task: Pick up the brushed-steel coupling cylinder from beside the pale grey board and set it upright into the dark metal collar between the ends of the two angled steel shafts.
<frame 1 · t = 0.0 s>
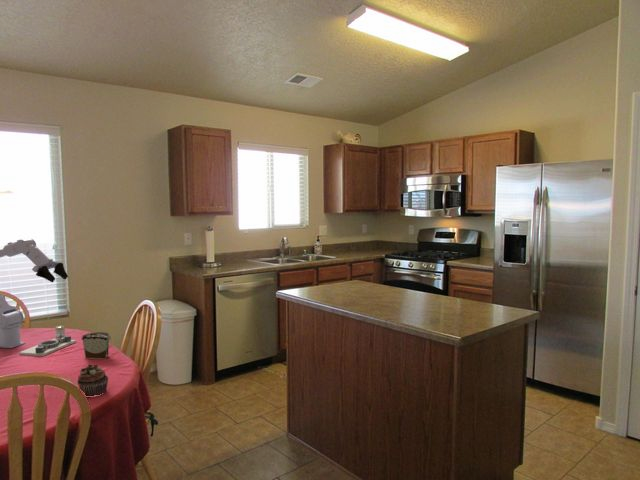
hand: (60, 279, 201), 32 cm above the table, tool tilted 50°, fingers open, 7 cm apart
cupcake: (93, 393, 157), on the table
food container: (99, 356, 195), on the table
shaft 1: (42, 353, 198), resting on shaft board
shaft 2: (63, 343, 211), resting on shaft board
shaft board: (48, 348, 205), on the table
coupler: (60, 338, 219), on the table
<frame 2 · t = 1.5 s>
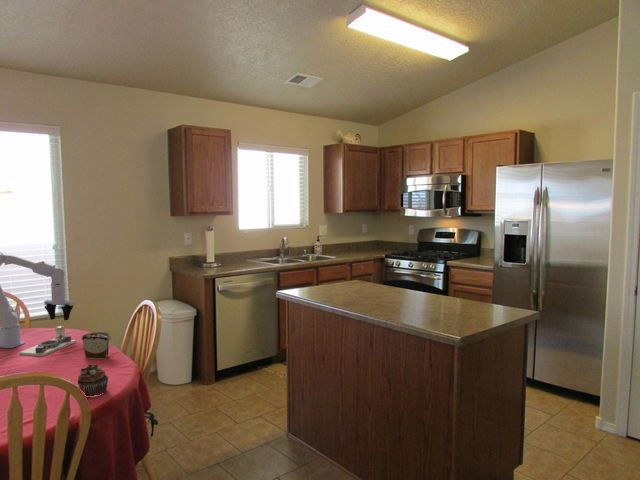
hand: (59, 319, 218), 10 cm above the table, tool pointing down, fingers open, 7 cm apart
nothing on the table moved.
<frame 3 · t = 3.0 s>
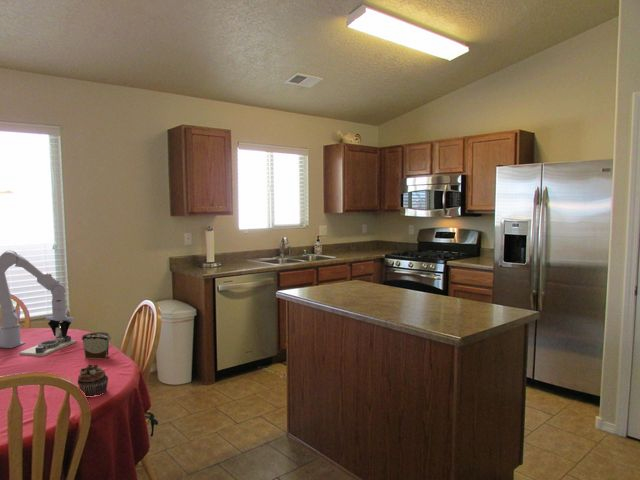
hand: (60, 335, 219), 2 cm above the table, tool pointing down, fingers closed on coupler, 4 cm apart
coupler: (60, 338, 219), on the table, touching gripper
everything else where it was.
when the fingers open (5 cm above the table, at t = 6.7 s): coupler drops 2 cm, resting on shaft board.
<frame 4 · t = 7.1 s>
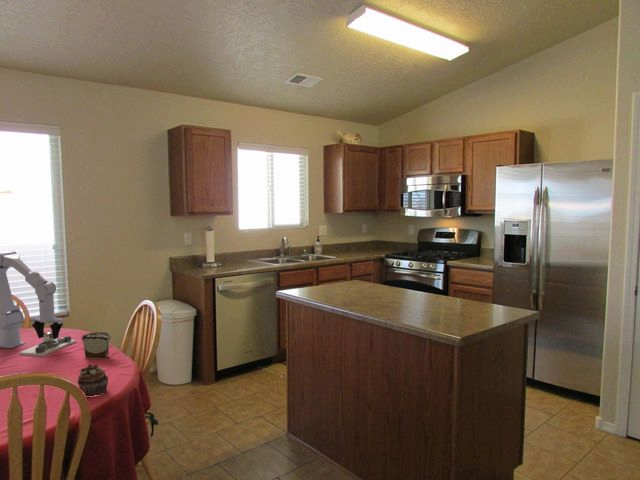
hand: (48, 338, 205), 5 cm above the table, tool pointing down, fingers open, 7 cm apart
coupler: (49, 345, 205), point 1 cm above the table, touching shaft board
everything else where it was.
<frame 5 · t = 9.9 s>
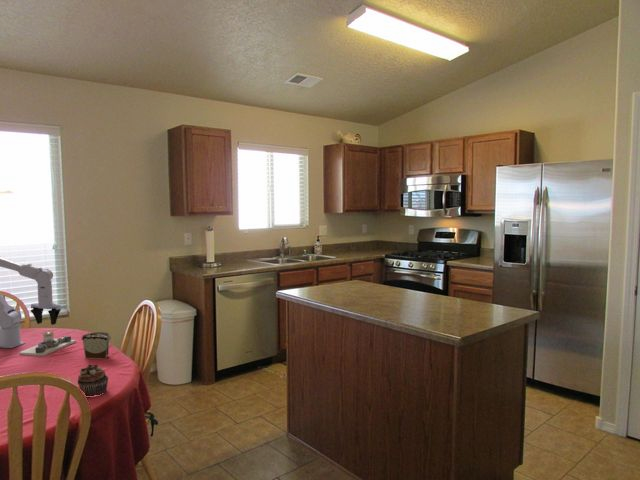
hand: (46, 323, 211), 9 cm above the table, tool pointing down, fingers open, 7 cm apart
nothing on the table moved.
at the end: coupler 0.3 cm off-centre on the shaft board, point 1.0 cm above the shaft board's base; coupler tilted 1°; the gripper is holding nothing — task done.
